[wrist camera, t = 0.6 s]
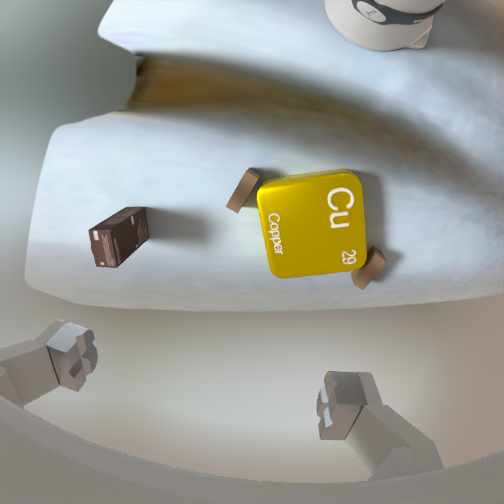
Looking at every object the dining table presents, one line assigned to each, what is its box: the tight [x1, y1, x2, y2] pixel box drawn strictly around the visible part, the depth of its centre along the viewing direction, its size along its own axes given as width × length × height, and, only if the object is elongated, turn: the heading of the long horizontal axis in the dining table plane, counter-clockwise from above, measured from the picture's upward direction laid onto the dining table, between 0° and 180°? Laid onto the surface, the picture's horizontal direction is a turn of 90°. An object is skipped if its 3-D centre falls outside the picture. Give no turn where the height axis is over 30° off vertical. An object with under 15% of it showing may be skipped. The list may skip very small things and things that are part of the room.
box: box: [89, 207, 149, 268], centre depth 46 cm, size 6×4×12 cm
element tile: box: [256, 169, 367, 278], centre depth 45 cm, size 15×15×5 cm
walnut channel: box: [226, 168, 387, 290], centre depth 45 cm, size 6×25×4 cm, turn 60°
